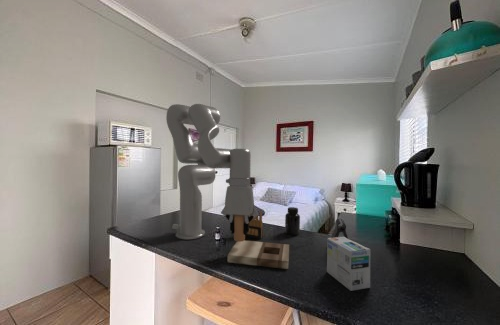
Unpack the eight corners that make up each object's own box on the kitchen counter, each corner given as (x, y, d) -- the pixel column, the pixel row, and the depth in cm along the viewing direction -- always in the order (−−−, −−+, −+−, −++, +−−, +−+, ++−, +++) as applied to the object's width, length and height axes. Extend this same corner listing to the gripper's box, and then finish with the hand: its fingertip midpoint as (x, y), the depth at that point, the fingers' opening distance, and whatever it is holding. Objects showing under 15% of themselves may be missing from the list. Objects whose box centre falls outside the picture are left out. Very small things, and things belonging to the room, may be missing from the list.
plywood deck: (227, 262, 73) (227, 254, 73) (238, 246, 87) (238, 239, 87) (288, 269, 69) (288, 261, 69) (289, 251, 83) (289, 244, 83)
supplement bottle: (282, 233, 103) (282, 208, 103) (289, 230, 108) (290, 206, 108) (294, 237, 98) (295, 210, 98) (302, 233, 103) (302, 208, 103)
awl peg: (232, 241, 77) (232, 213, 77) (235, 237, 81) (235, 210, 81) (243, 242, 77) (243, 213, 77) (246, 238, 81) (246, 211, 81)
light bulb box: (371, 288, 59) (372, 249, 59) (350, 292, 57) (351, 251, 57) (343, 269, 70) (344, 235, 70) (325, 272, 68) (326, 237, 68)
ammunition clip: (263, 238, 96) (263, 211, 96) (261, 239, 94) (261, 211, 94) (241, 233, 101) (242, 208, 101) (239, 235, 99) (240, 208, 99)
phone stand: (351, 250, 84) (352, 219, 84) (354, 257, 79) (355, 224, 78) (327, 247, 87) (327, 217, 87) (327, 253, 81) (328, 221, 81)
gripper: (214, 183, 77) (214, 234, 77) (261, 184, 74) (260, 238, 74) (221, 181, 84) (221, 228, 84) (264, 182, 81) (263, 231, 81)
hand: (239, 232), depth 79 cm, fingers closed on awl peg, 4 cm apart
